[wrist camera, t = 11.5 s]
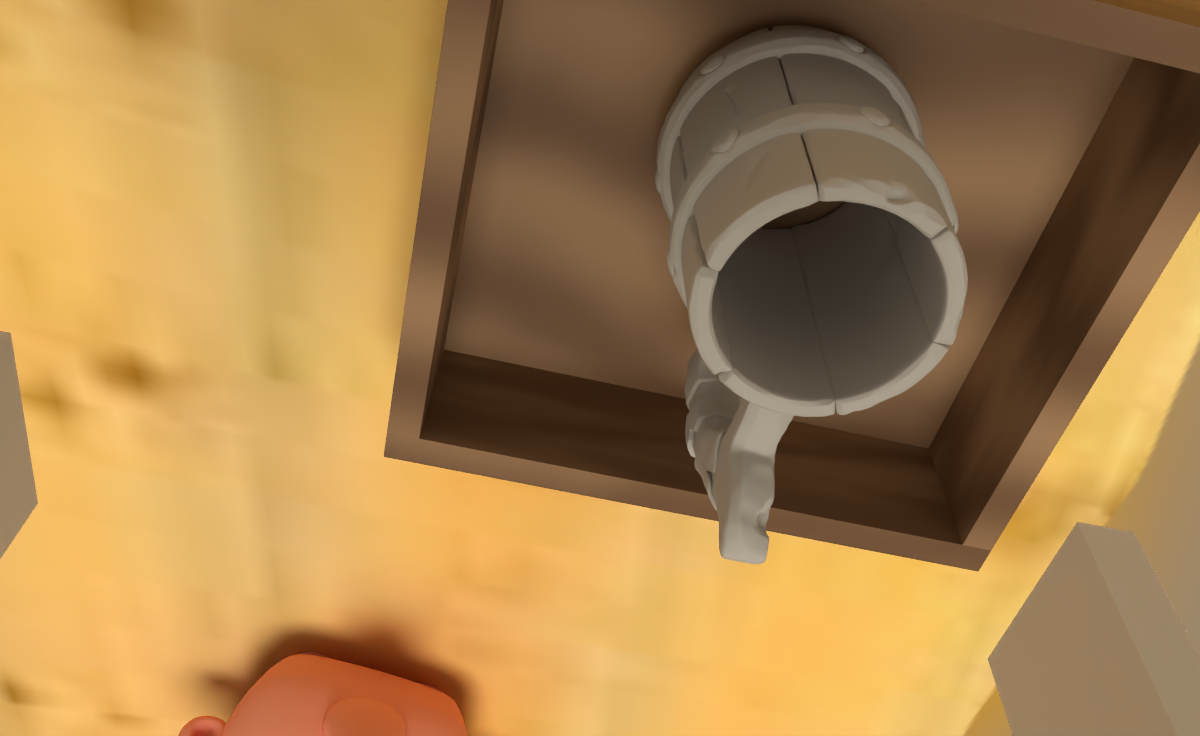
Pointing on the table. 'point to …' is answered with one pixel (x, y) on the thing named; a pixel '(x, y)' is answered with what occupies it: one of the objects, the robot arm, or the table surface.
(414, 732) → the teapot
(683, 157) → the mug
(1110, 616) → the robot arm
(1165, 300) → the table surface
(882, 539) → the crate
